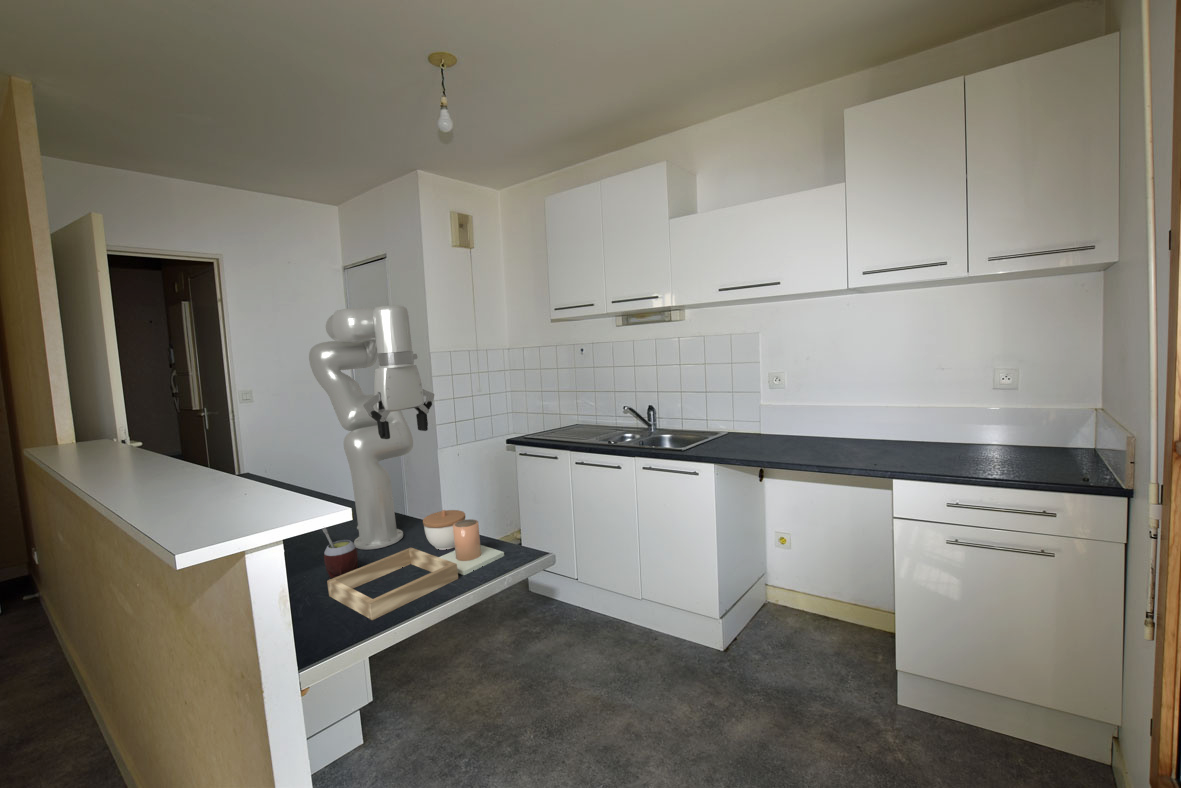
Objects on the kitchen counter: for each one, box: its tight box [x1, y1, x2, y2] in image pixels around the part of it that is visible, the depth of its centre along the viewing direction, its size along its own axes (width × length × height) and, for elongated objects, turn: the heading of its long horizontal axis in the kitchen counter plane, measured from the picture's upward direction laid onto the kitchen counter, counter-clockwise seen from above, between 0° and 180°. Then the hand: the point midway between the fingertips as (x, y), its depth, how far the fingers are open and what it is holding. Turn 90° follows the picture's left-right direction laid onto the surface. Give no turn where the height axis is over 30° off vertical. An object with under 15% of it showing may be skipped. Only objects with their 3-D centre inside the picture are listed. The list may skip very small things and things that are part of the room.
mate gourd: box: [322, 527, 359, 580], centre depth 125 cm, size 8×8×15 cm
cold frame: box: [326, 547, 459, 621], centre depth 118 cm, size 18×20×4 cm
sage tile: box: [438, 544, 505, 576], centre depth 130 cm, size 12×12×1 cm
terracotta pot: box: [453, 519, 481, 561], centre depth 130 cm, size 6×6×8 cm
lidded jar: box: [422, 509, 466, 551], centre depth 140 cm, size 11×11×9 cm
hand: (404, 434), depth 124 cm, fingers open, 9 cm apart
